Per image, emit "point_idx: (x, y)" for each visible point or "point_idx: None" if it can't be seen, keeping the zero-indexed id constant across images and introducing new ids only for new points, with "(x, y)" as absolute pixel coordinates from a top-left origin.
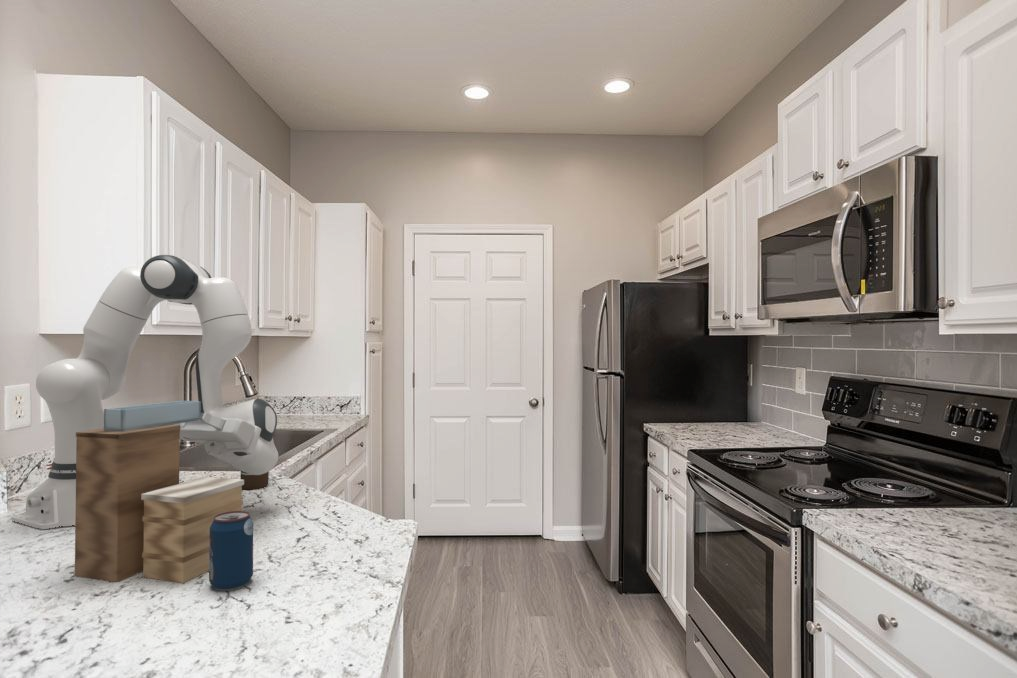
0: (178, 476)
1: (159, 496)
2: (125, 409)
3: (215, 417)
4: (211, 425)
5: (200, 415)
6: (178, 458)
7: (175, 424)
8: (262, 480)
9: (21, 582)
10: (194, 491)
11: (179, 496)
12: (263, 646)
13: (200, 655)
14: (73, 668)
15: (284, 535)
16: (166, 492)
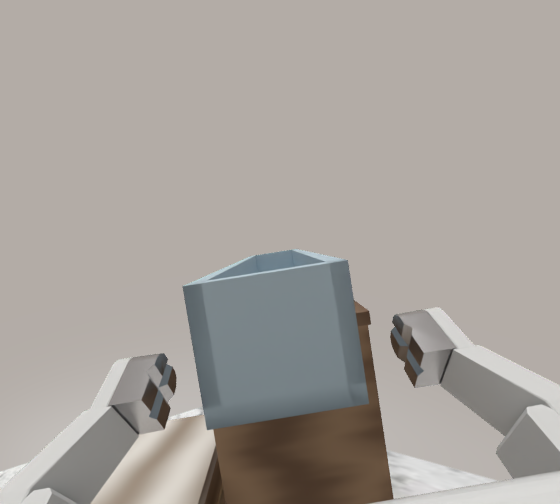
0: (226, 500)
1: (185, 419)
2: (250, 256)
3: (62, 437)
4: (106, 473)
5: (161, 362)
6: (216, 442)
7: (499, 450)
8: None
9: (393, 462)
10: (124, 458)
11: None
12: None
13: None
14: (174, 416)
15: None
16: (184, 431)
